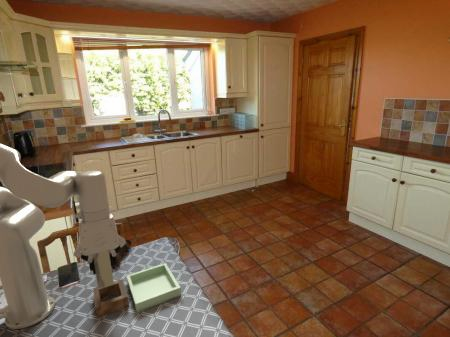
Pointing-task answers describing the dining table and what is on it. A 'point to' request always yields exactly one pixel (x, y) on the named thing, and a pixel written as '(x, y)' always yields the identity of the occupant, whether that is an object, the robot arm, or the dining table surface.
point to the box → (103, 269)
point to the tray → (152, 287)
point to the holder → (113, 303)
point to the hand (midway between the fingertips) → (103, 268)
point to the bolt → (122, 251)
